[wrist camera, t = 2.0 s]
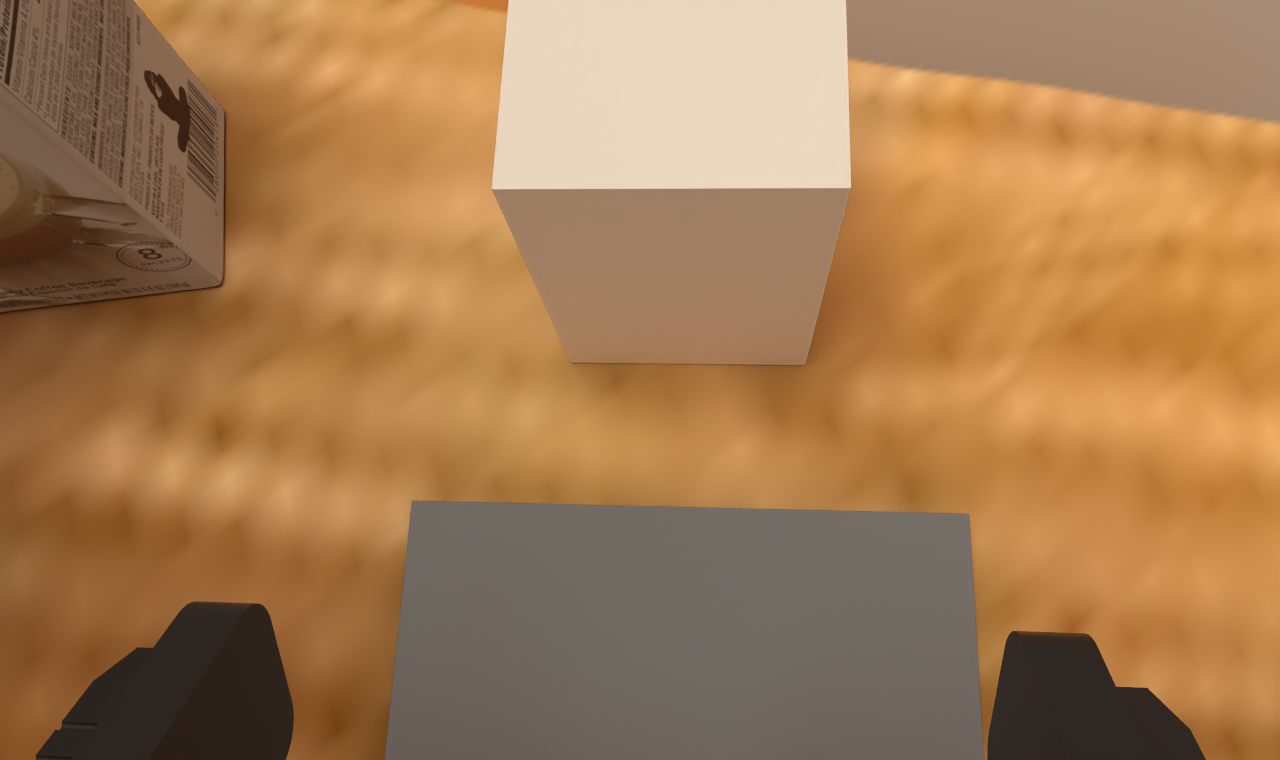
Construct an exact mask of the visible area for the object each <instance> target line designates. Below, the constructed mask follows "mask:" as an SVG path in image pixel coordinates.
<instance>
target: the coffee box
mask: <svg viewBox="0 0 1280 760" xmlns="http://www.w3.org/2000/svg"><path fill="white" fill-rule="evenodd" d="M223 237H224V110H223V109H222V107H221V106H220V105H219V103H218V102H217V101H216V100H215V98H214V97H213V96H212V95H211V94H210V93H209V91H208V90H207V89H206V88H205V87H204V85H203V84H202V83H201V82H200V81H199V79H198V78H197V77H196V76H195V75H194V74H193V72H192V71H191V70H190V69H189V68H188V66H187V65H186V64H185V63H184V61H183V60H182V59H181V58H180V57H179V55H178V54H177V53H176V52H175V51H174V50H173V48H172V47H171V46H170V44H169V43H168V42H167V41H166V40H165V39H164V37H163V36H162V35H161V33H160V32H159V31H158V30H157V29H156V27H155V26H154V25H153V24H152V23H151V21H150V20H149V19H148V18H147V16H146V15H145V14H144V13H143V11H142V10H141V9H140V8H139V7H138V5H137V4H136V3H135V2H134V1H133V0H0V312H5V311H12V310H20V309H28V308H36V307H45V306H53V305H62V304H71V303H81V302H89V301H96V300H105V299H114V298H123V297H131V296H140V295H148V294H157V293H166V292H173V291H181V290H191V289H199V288H206V287H213V286H217V285H220V283H221V282H222V279H223Z"/></svg>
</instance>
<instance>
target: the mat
mask: <svg viewBox="0 0 1280 760" xmlns="http://www.w3.org/2000/svg"><path fill="white" fill-rule="evenodd" d="M385 760H984V753H983V736H982V720H981V703H980V686H979V670H978V653H977V636H976V620H975V603H974V586H973V570H972V553H971V536H970V520H969V514H955V513H913V512H871V511H828V510H786V509H743V508H701V507H659V506H616V505H574V504H532V503H489V502H447V501H412V505H411V515H410V524H409V534H408V543H407V553H406V562H405V572H404V581H403V591H402V600H401V610H400V619H399V628H398V638H397V647H396V657H395V666H394V676H393V685H392V695H391V704H390V714H389V723H388V733H387V742H386V752H385Z"/></svg>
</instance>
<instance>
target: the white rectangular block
mask: <svg viewBox="0 0 1280 760" xmlns="http://www.w3.org/2000/svg"><path fill="white" fill-rule="evenodd" d="M846 28H847V24H846V0H509V5H508V16H507V27H506V38H505V49H504V60H503V72H502V83H501V94H500V105H499V116H498V127H497V138H496V149H495V160H494V171H493V183H492V191H493V193H494V195H495V197H496V199H497V202H498V204H499V206H500V208H501V210H502V213H503V215H504V217H505V219H506V221H507V223H508V226H509V228H510V230H511V232H512V234H513V237H514V239H515V241H516V243H517V245H518V248H519V250H520V252H521V254H522V256H523V259H524V261H525V263H526V265H527V267H528V270H529V272H530V274H531V276H532V278H533V281H534V283H535V285H536V287H537V289H538V292H539V294H540V296H541V298H542V300H543V302H544V305H545V307H546V309H547V311H548V313H549V316H550V318H551V320H552V322H553V324H554V327H555V329H556V331H557V333H558V335H559V338H560V340H561V342H562V344H563V346H564V349H565V351H566V353H567V355H568V357H569V360H570V362H571V363H649V364H736V365H805V364H806V361H807V357H808V353H809V349H810V345H811V341H812V337H813V333H814V330H815V326H816V322H817V318H818V314H819V310H820V306H821V302H822V299H823V295H824V291H825V287H826V283H827V279H828V275H829V271H830V268H831V264H832V260H833V256H834V252H835V248H836V244H837V240H838V237H839V233H840V229H841V225H842V221H843V217H844V213H845V209H846V206H847V202H848V198H849V194H850V190H851V169H850V133H849V97H848V60H847V29H846Z"/></svg>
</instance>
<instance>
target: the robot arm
mask: <svg viewBox="0 0 1280 760" xmlns="http://www.w3.org/2000/svg"><path fill="white" fill-rule="evenodd" d="M293 721H294V717H293V705H292V700H291V696H290V692H289V688H288V684H287V680H286V676H285V673H284V669H283V665H282V661H281V657H280V653H279V649H278V645H277V641H276V638H275V634H274V630H273V626H272V622H271V619H270V616H269V613H268V611H267V610H266V608H265V607H264V606H263V605H261V604H255V603H225V602H191V603H189V604H187V605H186V606H185V607H184V608H183V609H182V610H181V611H180V612H179V613H178V615H177V616H176V617H175V619H174V620H173V622H172V623H171V624H170V626H169V627H168V628H167V630H166V631H165V633H164V634H163V635H162V637H161V638H160V639H159V641H158V642H157V644H156V645H155V646H154V648H136V649H135V650H134V651H132V652H131V653H130V654H128V655H127V656H126V657H125V658H123V659H122V660H121V661H119V662H118V663H117V664H115V665H114V666H113V667H111V668H110V669H109V670H107V671H106V672H105V673H103V674H102V675H101V676H99V677H98V678H97V679H95V680H94V681H93V682H92V683H91V685H90V686H89V687H88V688H87V690H86V691H85V692H84V694H83V695H82V696H81V698H80V699H79V700H78V701H77V703H76V704H75V705H74V707H73V708H72V709H71V710H70V712H69V713H68V714H67V716H66V717H65V718H64V720H63V721H62V727H61V729H60V730H55V731H54V733H53V734H52V735H51V736H50V738H49V739H48V740H47V742H46V743H45V744H44V745H43V747H42V748H41V749H40V751H39V752H38V753H37V755H36V760H286V757H287V754H288V751H289V748H290V744H291V739H292V732H293ZM988 760H1206V759H1205V757H1204V755H1203V753H1202V751H1201V750H1200V748H1199V746H1198V744H1197V742H1196V740H1195V738H1194V736H1193V734H1192V732H1191V730H1190V729H1189V728H1188V727H1187V726H1186V725H1185V724H1184V723H1183V722H1182V721H1181V720H1180V719H1179V718H1178V717H1177V716H1176V715H1175V714H1174V713H1173V712H1172V711H1171V710H1169V709H1168V708H1167V707H1166V706H1165V705H1164V704H1163V703H1162V702H1161V701H1160V700H1159V699H1158V698H1157V697H1156V696H1155V695H1154V694H1153V693H1152V692H1151V691H1150V690H1149V689H1148V688H1133V687H1116V686H1115V684H1114V682H1113V679H1112V677H1111V675H1110V673H1109V671H1108V669H1107V666H1106V664H1105V662H1104V660H1103V658H1102V656H1101V653H1100V651H1099V649H1098V647H1097V645H1096V643H1095V641H1094V640H1093V639H1092V637H1090V636H1089V635H1088V634H1084V633H1054V632H1024V631H1013V632H1011V633H1010V634H1009V636H1008V638H1007V641H1006V645H1005V649H1004V655H1003V660H1002V666H1001V671H1000V676H999V682H998V687H997V693H996V698H995V703H994V709H993V714H992V720H991V725H990V731H989V737H988Z"/></svg>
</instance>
